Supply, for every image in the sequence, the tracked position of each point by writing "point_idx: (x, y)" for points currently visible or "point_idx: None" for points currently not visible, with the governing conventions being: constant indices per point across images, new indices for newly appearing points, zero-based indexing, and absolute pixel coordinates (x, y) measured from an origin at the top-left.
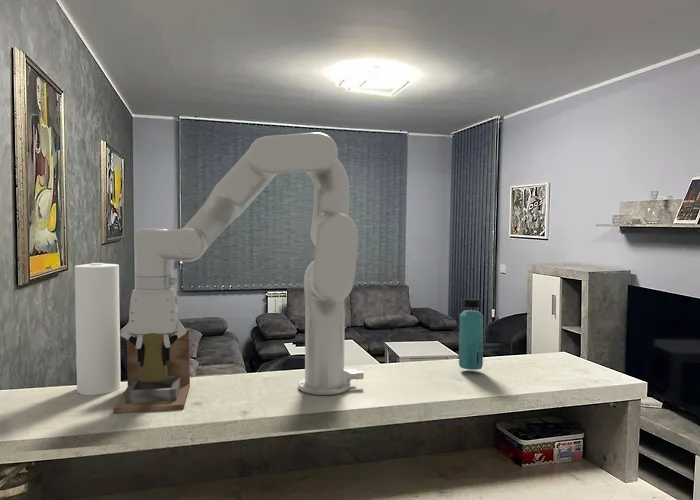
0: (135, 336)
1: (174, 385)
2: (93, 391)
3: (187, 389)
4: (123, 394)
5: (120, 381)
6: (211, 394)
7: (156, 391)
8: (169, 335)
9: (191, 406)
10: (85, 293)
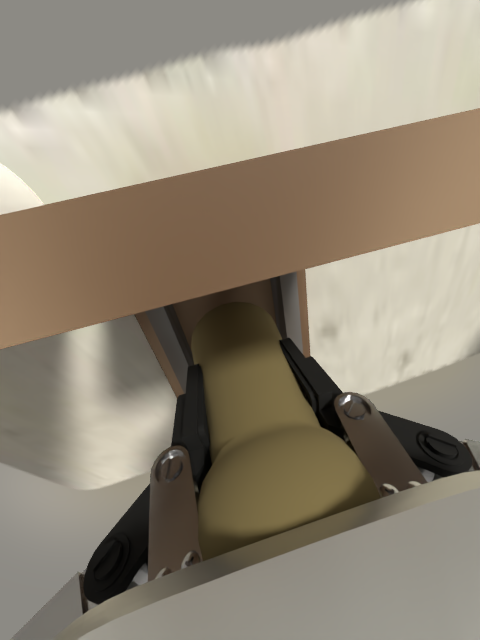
0: (133, 574)
1: (294, 342)
2: None
3: (304, 274)
4: (144, 328)
5: (28, 202)
6: (355, 271)
7: None
8: (404, 470)
9: (318, 347)
10: None
